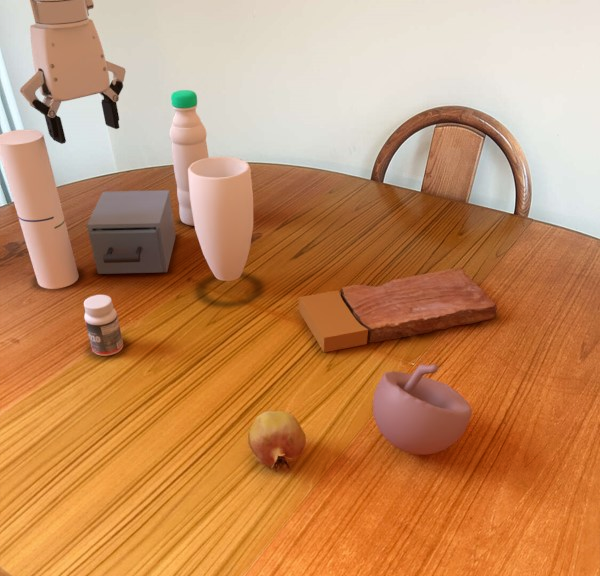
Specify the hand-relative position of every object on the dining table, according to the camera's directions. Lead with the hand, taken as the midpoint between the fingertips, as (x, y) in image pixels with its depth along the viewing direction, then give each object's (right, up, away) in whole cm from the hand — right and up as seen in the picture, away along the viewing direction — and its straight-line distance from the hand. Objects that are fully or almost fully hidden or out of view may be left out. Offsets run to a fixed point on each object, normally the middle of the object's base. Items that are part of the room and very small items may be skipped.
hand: (86, 134), depth 105 cm
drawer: (+4, -17, +16) cm, 24 cm away
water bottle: (+13, -5, +32) cm, 35 cm away
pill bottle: (+5, -35, -4) cm, 35 cm away
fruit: (+32, -50, -22) cm, 63 cm away
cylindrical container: (-9, -21, +13) cm, 26 cm away
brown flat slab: (+50, -29, +3) cm, 58 cm away
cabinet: (+3, -15, +20) cm, 25 cm away
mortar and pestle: (+49, -48, -20) cm, 72 cm away
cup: (+22, -24, +10) cm, 34 cm away
